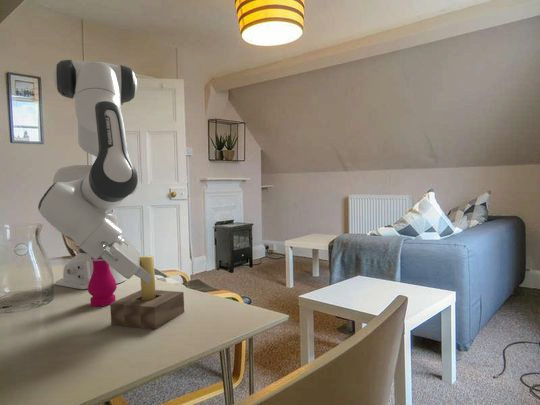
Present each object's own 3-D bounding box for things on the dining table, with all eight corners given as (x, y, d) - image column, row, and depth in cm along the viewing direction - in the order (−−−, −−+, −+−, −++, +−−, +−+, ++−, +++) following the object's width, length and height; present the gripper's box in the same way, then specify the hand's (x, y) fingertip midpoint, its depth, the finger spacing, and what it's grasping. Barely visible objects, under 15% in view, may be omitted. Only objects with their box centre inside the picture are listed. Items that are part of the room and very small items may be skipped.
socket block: (111, 324, 90) (110, 303, 90) (143, 308, 101) (143, 289, 101) (155, 329, 86) (154, 307, 86) (184, 311, 97) (183, 292, 97)
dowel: (139, 308, 92) (136, 257, 92) (147, 304, 95) (145, 255, 95) (150, 309, 91) (148, 258, 91) (158, 304, 94) (156, 255, 94)
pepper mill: (88, 301, 108) (84, 230, 107) (115, 297, 112) (112, 228, 111) (89, 309, 102) (85, 233, 101) (118, 304, 105) (114, 230, 104)
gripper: (110, 235, 80) (161, 277, 84) (116, 226, 100) (157, 260, 103) (88, 258, 79) (140, 300, 83) (98, 244, 99) (141, 278, 102)
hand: (150, 277), depth 93 cm, fingers closed on dowel, 3 cm apart
